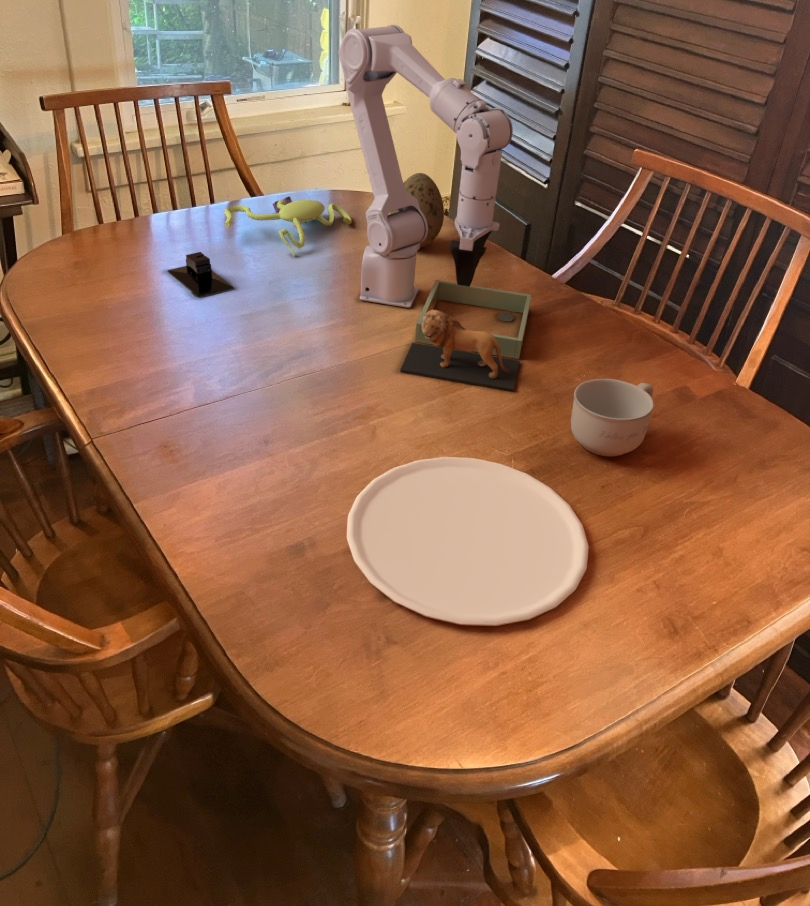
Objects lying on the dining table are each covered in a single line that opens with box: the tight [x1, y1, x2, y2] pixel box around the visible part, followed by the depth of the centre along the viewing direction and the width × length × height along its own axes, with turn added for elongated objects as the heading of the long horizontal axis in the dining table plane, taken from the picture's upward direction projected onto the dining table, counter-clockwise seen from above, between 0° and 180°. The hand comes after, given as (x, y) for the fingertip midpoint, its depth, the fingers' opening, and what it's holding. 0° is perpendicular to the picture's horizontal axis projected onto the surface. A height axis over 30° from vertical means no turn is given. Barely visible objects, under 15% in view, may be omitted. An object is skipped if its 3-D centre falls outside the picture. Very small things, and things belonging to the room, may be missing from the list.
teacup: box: [570, 378, 655, 457], centre depth 113 cm, size 14×11×8 cm
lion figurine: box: [421, 309, 510, 379], centre depth 125 cm, size 15×5×9 cm, turn 79°
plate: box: [346, 456, 590, 627], centre depth 97 cm, size 29×29×1 cm
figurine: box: [223, 196, 353, 257], centre depth 167 cm, size 18×27×6 cm
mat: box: [399, 342, 521, 393], centre depth 129 cm, size 18×9×1 cm, turn 78°
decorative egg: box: [390, 172, 445, 248], centre depth 162 cm, size 11×11×15 cm
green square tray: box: [414, 279, 533, 360], centre depth 139 cm, size 18×18×4 cm
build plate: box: [167, 251, 234, 298], centre depth 146 cm, size 12×7×5 cm, turn 39°
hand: (467, 275), depth 132 cm, fingers open, 7 cm apart
